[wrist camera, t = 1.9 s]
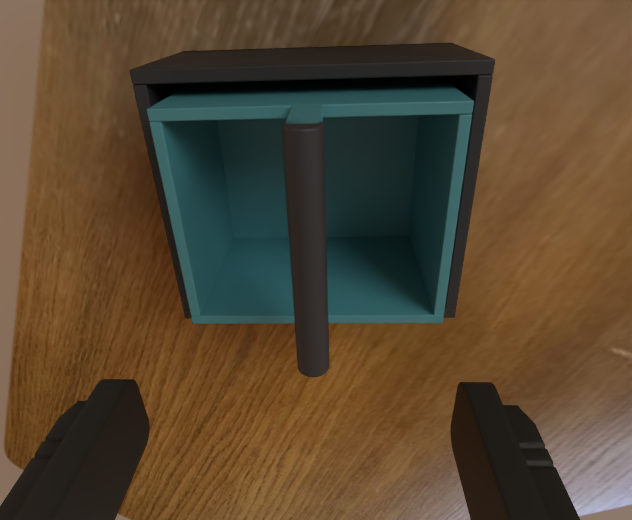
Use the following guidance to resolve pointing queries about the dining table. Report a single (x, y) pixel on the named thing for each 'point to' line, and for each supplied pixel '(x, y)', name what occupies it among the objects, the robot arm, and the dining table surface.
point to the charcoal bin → (326, 63)
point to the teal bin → (314, 200)
